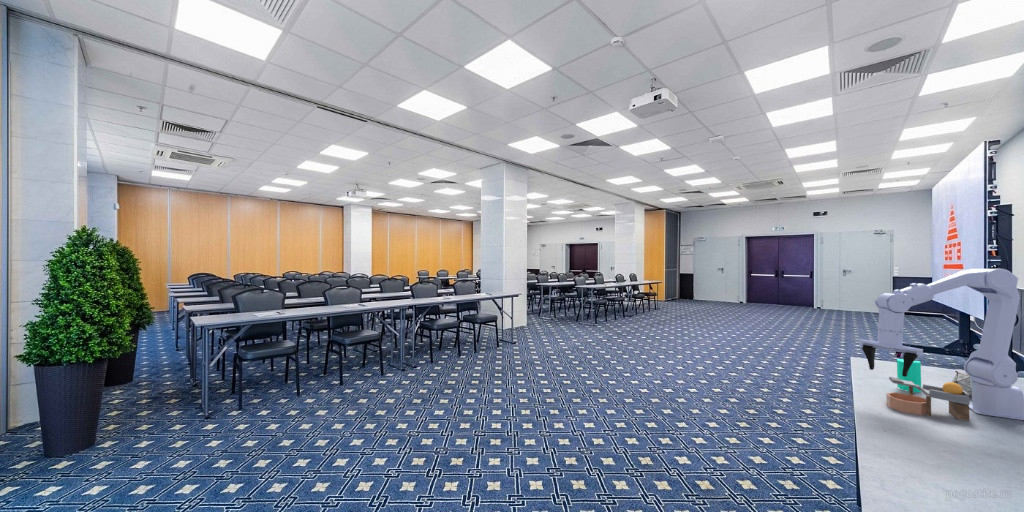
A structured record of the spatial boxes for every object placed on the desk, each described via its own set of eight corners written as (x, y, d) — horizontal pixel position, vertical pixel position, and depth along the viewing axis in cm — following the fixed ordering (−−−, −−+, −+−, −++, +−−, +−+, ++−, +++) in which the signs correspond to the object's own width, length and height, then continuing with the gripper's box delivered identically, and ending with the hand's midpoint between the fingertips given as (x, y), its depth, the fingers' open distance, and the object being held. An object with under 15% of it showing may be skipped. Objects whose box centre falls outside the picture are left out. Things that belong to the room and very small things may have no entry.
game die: (972, 405, 131) (990, 382, 130) (984, 404, 124) (1002, 380, 124) (938, 387, 136) (955, 365, 136) (947, 385, 129) (965, 362, 129)
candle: (926, 392, 133) (925, 358, 133) (906, 391, 134) (905, 358, 134) (912, 387, 139) (911, 354, 139) (893, 386, 140) (892, 354, 140)
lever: (948, 390, 122) (950, 381, 122) (969, 405, 110) (970, 395, 110) (888, 379, 130) (890, 370, 129) (901, 391, 117) (903, 381, 117)
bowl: (923, 407, 120) (923, 396, 120) (934, 416, 113) (933, 405, 113) (884, 401, 125) (884, 390, 125) (892, 410, 118) (891, 399, 118)
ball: (954, 396, 115) (962, 385, 114) (960, 400, 112) (968, 389, 111) (937, 388, 117) (945, 378, 116) (942, 392, 114) (950, 381, 113)
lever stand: (947, 403, 123) (947, 385, 123) (972, 422, 108) (971, 401, 109) (909, 398, 128) (908, 380, 128) (927, 416, 113) (927, 396, 114)
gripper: (857, 327, 126) (854, 367, 126) (920, 336, 114) (917, 381, 114) (863, 325, 130) (860, 365, 130) (925, 334, 118) (922, 378, 118)
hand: (887, 372), depth 122 cm, fingers open, 7 cm apart
